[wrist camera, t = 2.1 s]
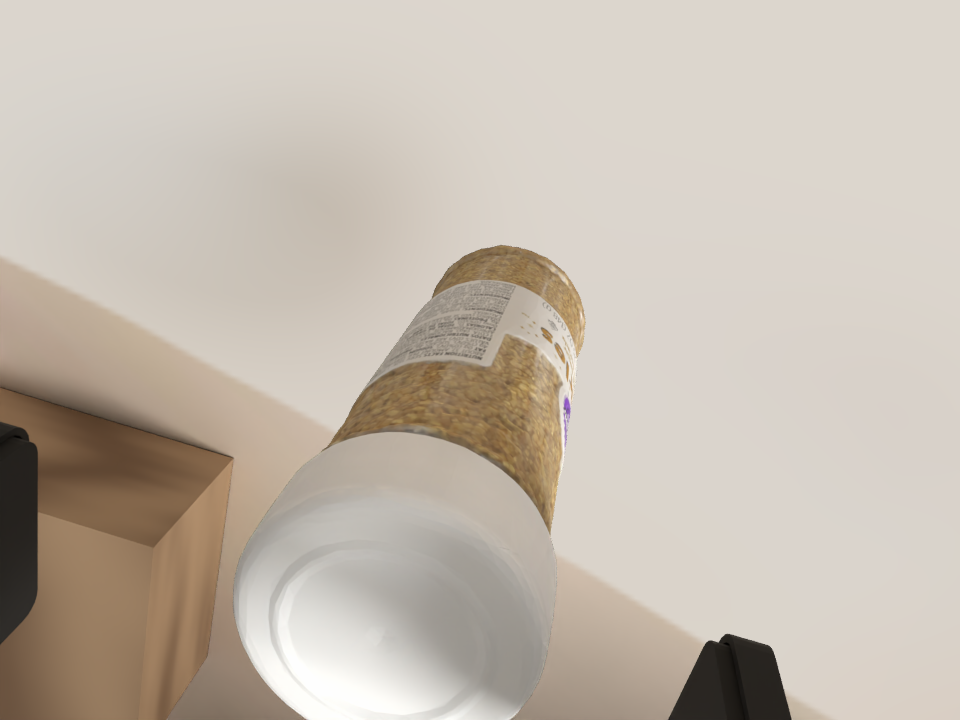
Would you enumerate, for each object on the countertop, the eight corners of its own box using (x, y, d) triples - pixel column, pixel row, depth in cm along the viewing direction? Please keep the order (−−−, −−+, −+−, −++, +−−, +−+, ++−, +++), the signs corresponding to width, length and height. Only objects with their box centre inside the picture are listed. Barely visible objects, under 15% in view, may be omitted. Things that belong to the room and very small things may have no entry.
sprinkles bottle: (596, 379, 23) (571, 766, 11) (446, 396, 24) (273, 769, 12) (573, 227, 22) (515, 483, 10) (414, 252, 23) (176, 513, 11)
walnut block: (233, 458, 27) (153, 547, 22) (207, 656, 30) (134, 768, 26) (-18, 382, 27) (-148, 454, 22) (-14, 586, 31) (-124, 683, 26)
